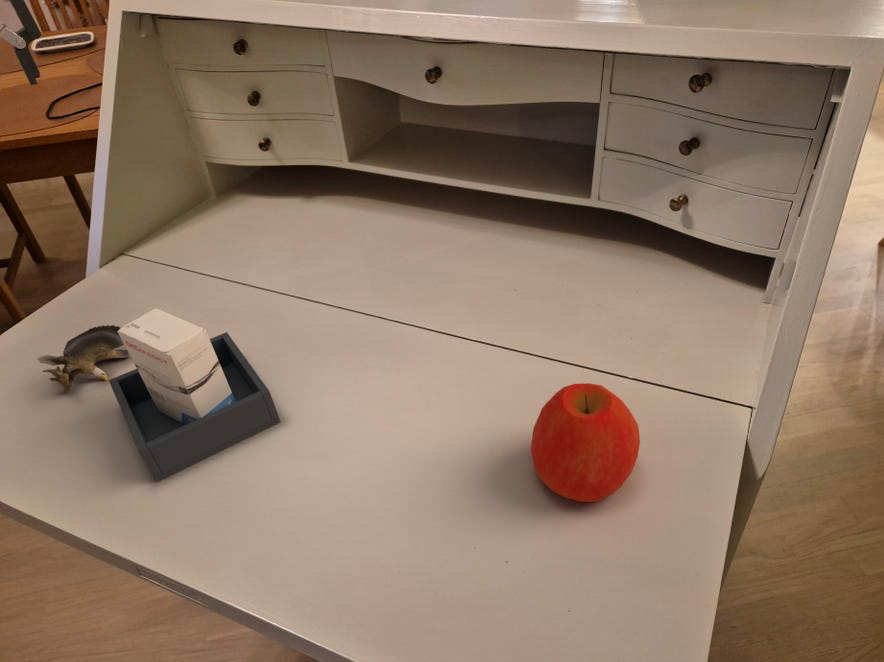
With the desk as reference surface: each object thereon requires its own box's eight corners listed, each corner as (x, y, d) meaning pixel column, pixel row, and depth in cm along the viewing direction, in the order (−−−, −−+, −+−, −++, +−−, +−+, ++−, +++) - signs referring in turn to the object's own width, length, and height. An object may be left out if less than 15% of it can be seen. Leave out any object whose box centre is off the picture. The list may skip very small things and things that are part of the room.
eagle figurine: (93, 399, 74) (146, 344, 79) (37, 359, 71) (96, 303, 76) (77, 406, 79) (128, 353, 84) (25, 368, 76) (81, 316, 81)
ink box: (241, 409, 72) (207, 327, 64) (207, 438, 69) (167, 355, 61) (191, 385, 76) (153, 304, 68) (156, 412, 72) (113, 330, 65)
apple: (639, 444, 66) (652, 369, 59) (626, 525, 59) (638, 449, 52) (543, 426, 69) (544, 352, 62) (519, 501, 61) (517, 426, 55)
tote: (157, 482, 66) (139, 451, 62) (126, 410, 74) (108, 379, 71) (281, 422, 71) (269, 391, 68) (238, 361, 80) (226, 331, 77)
